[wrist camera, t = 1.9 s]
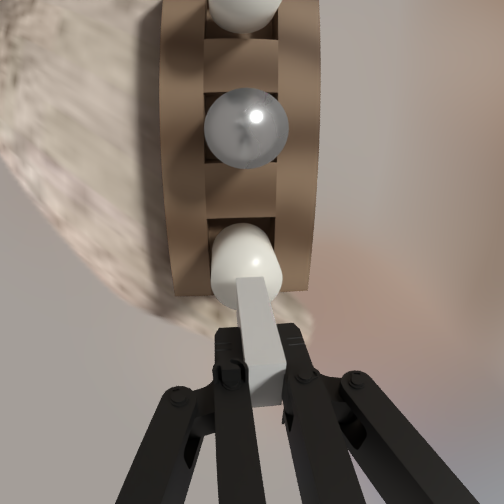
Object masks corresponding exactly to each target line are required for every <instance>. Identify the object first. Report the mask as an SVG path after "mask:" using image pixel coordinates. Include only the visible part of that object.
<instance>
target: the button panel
mask: <svg viewBox="0 0 504 504" xmlns="http://www.w3.org/2000/svg"><path fill="white" fill-rule="evenodd" d="M320 61H321V58H320V16H319V0H282V2H281V3H280V5H279V7H278V9H277V11H276V12H275V14H274V16H273V18H272V19H271V21H270V22H269V23H268V24H267V25H266V26H265V27H264V28H262V29H260V30H258V31H255V32H252V33H245V34H240V33H233V32H229V31H227V30H224V29H223V28H221V27H219V26H218V25H217V24H216V23H215V22H214V21H213V19H212V17H211V15H210V11H209V0H163V5H162V18H161V36H160V65H159V115H160V146H161V166H162V182H163V195H164V207H165V218H166V228H167V238H168V247H169V255H170V263H171V271H172V278H173V285H174V292H175V296H208V295H214V293H213V291H212V288H211V263H212V247H213V243H214V240H215V238H216V237H217V235H218V234H219V233H220V232H221V231H222V230H223V229H224V228H226V227H228V226H230V225H233V224H237V223H248V224H252V225H255V226H257V227H259V228H260V229H261V230H263V231H264V232H265V233H266V235H267V236H268V238H269V240H270V243H271V245H272V248H273V250H274V253H275V256H276V258H277V261H278V263H279V266H280V268H281V271H282V285H281V288H280V291H279V292H290V291H305V290H307V289H308V281H309V272H310V263H311V253H312V242H313V230H314V219H315V206H316V191H317V174H318V156H319V130H320V85H321V84H320V83H321V81H320V80H321V79H320V77H321V72H320V71H321V68H320V67H321V66H320V65H321V62H320ZM239 88H255V89H259V90H262V91H264V92H266V93H268V94H270V95H271V96H273V97H274V98H275V99H276V100H277V101H278V102H279V103H280V104H281V105H282V107H283V109H284V110H285V113H286V115H287V118H288V123H289V132H288V138H287V141H286V144H285V146H284V148H283V150H282V151H281V152H280V154H279V155H278V156H277V157H276V158H275V159H273V160H272V161H271V162H269V163H268V164H266V165H264V166H261V167H258V168H253V169H240V168H235V167H231V166H229V165H227V164H225V163H223V162H222V161H220V160H219V159H218V158H217V157H216V156H215V155H214V154H213V153H212V151H211V150H210V148H209V147H208V145H207V142H206V139H205V134H204V123H205V118H206V115H207V113H208V111H209V109H210V107H211V106H212V104H213V103H214V102H215V101H216V100H217V99H218V98H219V97H220V96H222V95H223V94H225V93H227V92H229V91H231V90H234V89H239Z"/></svg>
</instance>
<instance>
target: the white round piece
mask: <svg viewBox="0 0 504 504" xmlns="http://www.w3.org/2000/svg"><path fill="white" fill-rule="evenodd" d="M281 2H282V0H209V11H210V15H211V17H212V19H213V21H214V22H215V23H216V24H217V25H218V26H219V27H221V28H223V29H224V30H227V31H229V32H233V33H240V34H245V33H252V32H255V31H258V30H260V29H262V28H264V27H265V26H266V25H267V24H268V23H269V22H270V21H271V19H272V18H273V16H274V14H275V12H276V11H277V9H278V7H279V5H280V3H281Z"/></svg>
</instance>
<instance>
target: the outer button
mask: <svg viewBox="0 0 504 504" xmlns="http://www.w3.org/2000/svg"><path fill="white" fill-rule="evenodd" d="M242 277H264V281H265V285H266V288H267V292H268V296H269V300H270V302H271V301H272V300H273V299H274V298H275V297H276V296H277V294H278V293H279V291H280V288H281V285H282V271H281V268H280V266H279V263H278V261H277V258H276V256H275V253H274V250H273V248H272V245H271V243H270V240H269V238H268V236H267V235H266V233H265V232H264V231H263V230H261V229H260V228H259V227H257V226H255V225H252V224H248V223H237V224H233V225H230V226H228V227H226V228H224V229H223V230H222V231H221V232H220V233H219V234H218V235H217V237H216V238H215V240H214V243H213V247H212V263H211V288H212V291H213V293H214V295H215V296H216V298H217V299H218V300H219V301H220V302H221V303H222V304H224V305H225V306H227V307H229V308H231V309H235V310H237V304H236V278H242Z"/></svg>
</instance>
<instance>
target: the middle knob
mask: <svg viewBox="0 0 504 504" xmlns="http://www.w3.org/2000/svg"><path fill="white" fill-rule="evenodd" d="M288 132H289V123H288V118H287V115H286V113H285V110H284V109H283V107H282V105H281V104H280V103H279V102H278V101H277V100H276V99H275V98H274V97H273V96H271V95H270V94H268V93H266V92H264V91H262V90H259V89H255V88H239V89H234V90H231V91H229V92H227V93H225V94H223V95H222V96H220V97H219V98H218V99H217V100H216V101H215V102H214V103H213V104H212V106H211V107H210V109H209V111H208V113H207V115H206V118H205V123H204V134H205V139H206V142H207V145H208V147H209V148H210V150H211V151H212V153H213V154H214V155H215V156H216V157H217V158H218V159H219V160H220V161H222V162H223V163H225V164H227V165H229V166H231V167H235V168H240V169H253V168H258V167H261V166H264V165H266V164H268V163H269V162H271V161H272V160H273V159H275V158H276V157H277V156H278V155H279V154H280V152H281V151H282V150H283V148H284V146H285V144H286V141H287V138H288Z"/></svg>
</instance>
